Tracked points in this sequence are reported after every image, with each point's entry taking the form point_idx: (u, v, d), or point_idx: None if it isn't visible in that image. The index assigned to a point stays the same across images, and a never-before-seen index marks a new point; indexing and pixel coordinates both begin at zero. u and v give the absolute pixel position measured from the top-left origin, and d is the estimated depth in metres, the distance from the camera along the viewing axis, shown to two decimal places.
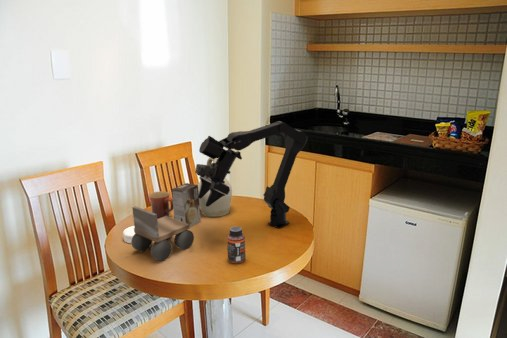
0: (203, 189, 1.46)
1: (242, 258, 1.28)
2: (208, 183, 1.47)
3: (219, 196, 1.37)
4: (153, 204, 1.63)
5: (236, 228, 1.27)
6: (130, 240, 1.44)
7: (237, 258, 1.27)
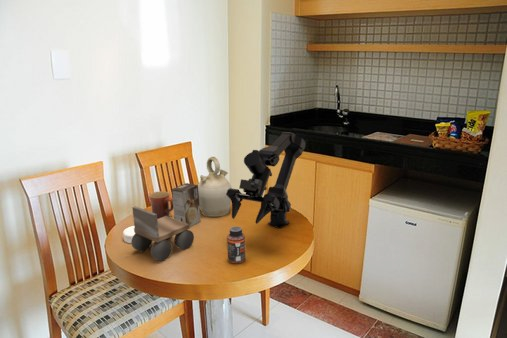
0: (236, 209, 1.36)
1: (242, 258, 1.28)
2: (238, 202, 1.37)
3: (267, 211, 1.32)
4: (153, 204, 1.63)
5: (236, 228, 1.27)
6: (130, 240, 1.44)
7: (237, 258, 1.27)
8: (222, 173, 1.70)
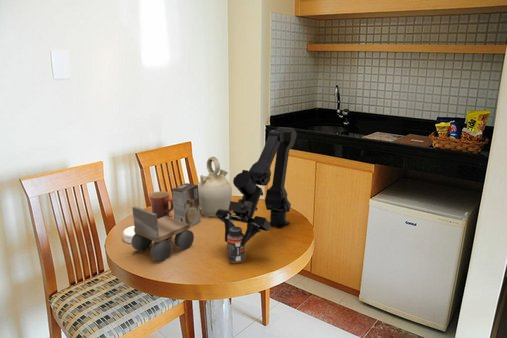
0: (229, 231, 1.30)
1: (242, 258, 1.28)
2: (232, 224, 1.32)
3: (254, 233, 1.29)
4: (153, 204, 1.63)
5: (236, 228, 1.27)
6: (130, 240, 1.44)
7: (237, 258, 1.27)
8: (222, 173, 1.70)
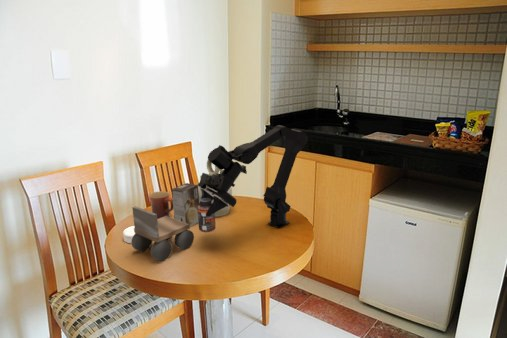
0: None
1: (208, 228, 1.35)
2: (209, 196, 1.40)
3: (221, 206, 1.34)
4: (153, 204, 1.63)
5: (206, 199, 1.35)
6: (130, 240, 1.44)
7: (203, 227, 1.35)
8: None
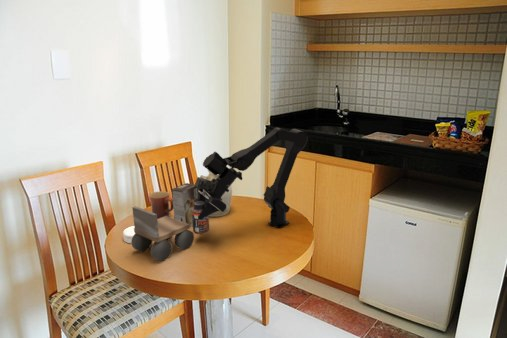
0: None
1: (200, 230, 1.41)
2: (205, 199, 1.46)
3: (213, 211, 1.39)
4: (153, 204, 1.63)
5: (199, 203, 1.41)
6: (130, 240, 1.44)
7: (196, 229, 1.41)
8: None
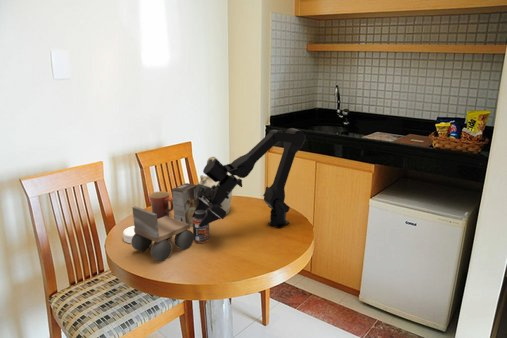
0: None
1: (201, 239, 1.42)
2: (204, 204, 1.48)
3: (214, 219, 1.38)
4: (153, 204, 1.63)
5: (200, 212, 1.42)
6: (130, 240, 1.44)
7: (196, 238, 1.42)
8: None
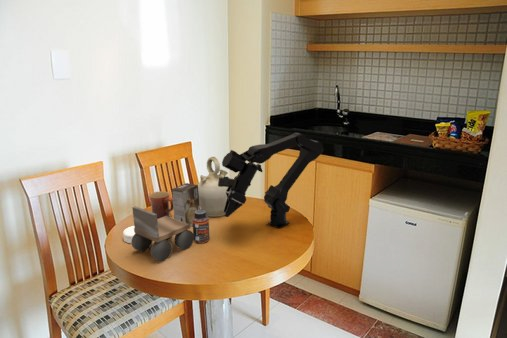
0: (229, 203, 1.50)
1: (201, 239, 1.42)
2: None
3: (237, 206, 1.40)
4: (153, 204, 1.63)
5: (200, 212, 1.42)
6: (130, 240, 1.44)
7: (196, 238, 1.42)
8: (222, 173, 1.70)
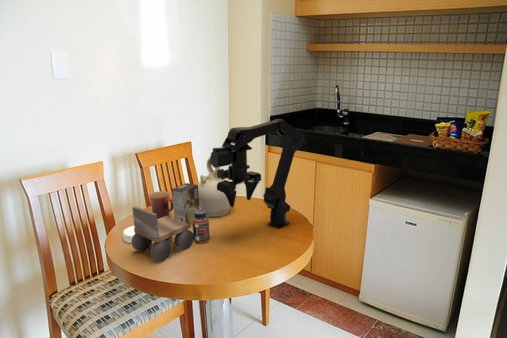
0: (248, 191, 1.47)
1: (201, 239, 1.42)
2: (250, 183, 1.46)
3: (231, 195, 1.38)
4: (153, 204, 1.63)
5: (200, 212, 1.42)
6: (130, 240, 1.44)
7: (196, 238, 1.42)
8: None
